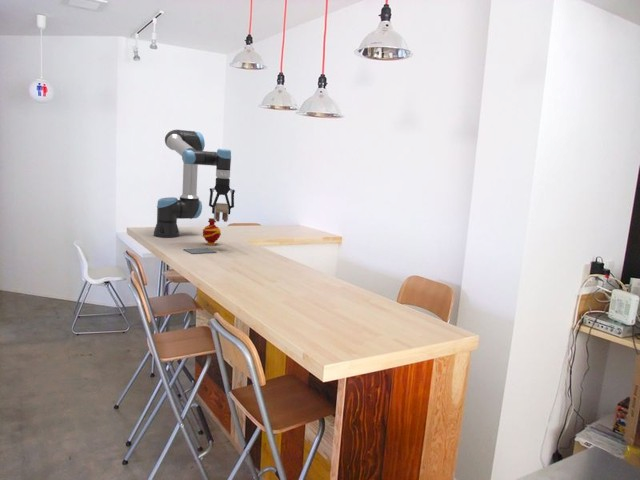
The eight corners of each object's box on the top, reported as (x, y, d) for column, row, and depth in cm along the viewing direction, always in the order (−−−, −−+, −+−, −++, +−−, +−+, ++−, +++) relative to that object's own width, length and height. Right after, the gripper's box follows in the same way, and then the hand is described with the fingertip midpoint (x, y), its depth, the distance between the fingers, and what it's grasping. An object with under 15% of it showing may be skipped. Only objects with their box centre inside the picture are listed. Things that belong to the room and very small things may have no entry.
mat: (183, 250, 261) (183, 248, 261) (207, 248, 270) (207, 247, 270) (191, 254, 253) (191, 252, 253) (216, 252, 261) (216, 251, 261)
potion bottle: (210, 246, 277) (211, 220, 275) (198, 243, 283) (199, 217, 281) (224, 244, 285) (225, 219, 283) (212, 241, 292) (213, 217, 289)
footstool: (214, 219, 271) (215, 202, 269) (225, 219, 273) (226, 203, 271) (216, 221, 262) (216, 204, 261) (227, 221, 264) (228, 205, 263)
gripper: (205, 177, 257) (203, 220, 261) (241, 179, 263) (239, 221, 267) (204, 176, 264) (202, 218, 268) (239, 178, 270) (237, 219, 274)
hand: (220, 219), depth 267 cm, fingers closed on footstool, 6 cm apart
